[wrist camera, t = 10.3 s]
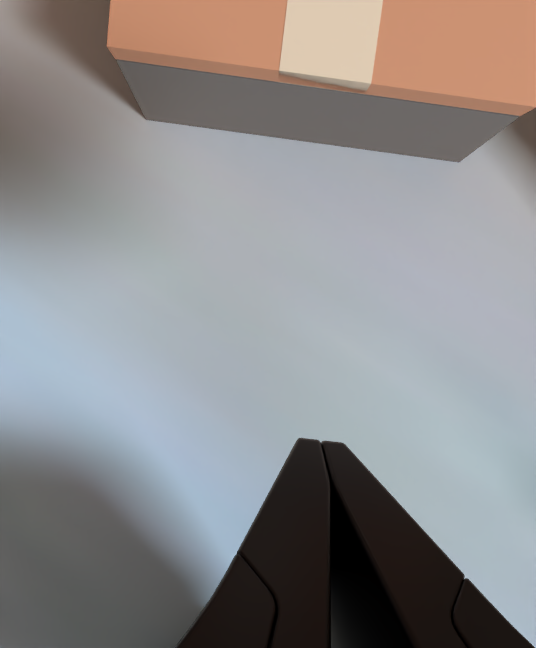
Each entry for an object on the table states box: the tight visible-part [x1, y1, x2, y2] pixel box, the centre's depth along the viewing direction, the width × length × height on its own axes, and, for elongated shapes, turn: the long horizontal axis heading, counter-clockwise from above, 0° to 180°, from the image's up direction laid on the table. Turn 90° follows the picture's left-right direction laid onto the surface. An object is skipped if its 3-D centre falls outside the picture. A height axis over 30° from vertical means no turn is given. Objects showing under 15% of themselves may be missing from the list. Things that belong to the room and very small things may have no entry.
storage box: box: [116, 59, 519, 162], centre depth 20 cm, size 9×14×5 cm, turn 83°
